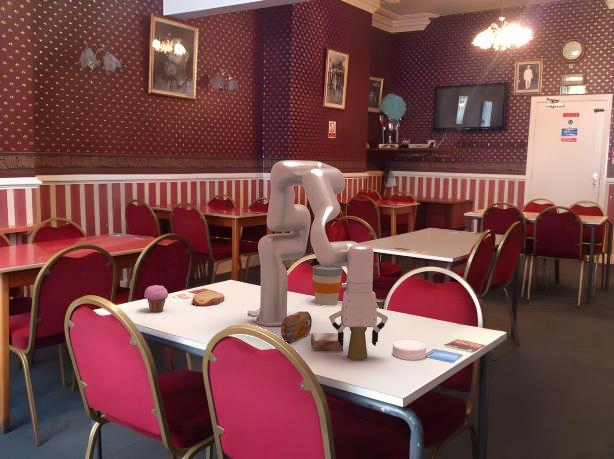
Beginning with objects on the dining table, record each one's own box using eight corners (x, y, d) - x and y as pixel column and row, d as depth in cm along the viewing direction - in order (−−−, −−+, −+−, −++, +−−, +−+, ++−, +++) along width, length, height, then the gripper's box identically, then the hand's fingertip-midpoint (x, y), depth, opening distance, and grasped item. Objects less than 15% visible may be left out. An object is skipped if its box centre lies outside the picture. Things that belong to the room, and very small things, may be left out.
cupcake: (168, 313, 220) (168, 287, 219) (144, 314, 218) (143, 287, 217) (168, 307, 228) (167, 282, 227) (144, 308, 226) (144, 283, 225)
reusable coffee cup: (306, 301, 245) (306, 265, 243) (332, 298, 250) (333, 263, 248) (319, 307, 233) (320, 270, 232) (347, 305, 239) (348, 268, 237)
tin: (287, 345, 184) (287, 318, 183) (278, 343, 186) (279, 317, 185) (312, 334, 197) (312, 309, 196) (304, 332, 198) (304, 308, 198)
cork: (345, 354, 176) (346, 318, 175) (365, 353, 177) (366, 318, 176) (348, 360, 170) (349, 323, 169) (369, 360, 171) (370, 323, 170)
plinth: (313, 351, 178) (313, 340, 178) (311, 342, 187) (311, 332, 187) (343, 351, 179) (343, 340, 179) (339, 342, 188) (339, 332, 187)
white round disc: (389, 350, 182) (389, 339, 181) (420, 350, 182) (421, 339, 182) (396, 361, 172) (396, 349, 171) (429, 361, 172) (430, 349, 172)
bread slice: (214, 294, 255) (214, 286, 255) (238, 302, 242) (238, 293, 241) (177, 300, 243) (177, 291, 243) (199, 308, 230) (199, 299, 229)
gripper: (331, 289, 167) (329, 348, 169) (391, 290, 168) (389, 348, 170) (328, 284, 175) (327, 340, 176) (386, 284, 176) (384, 340, 178)
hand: (357, 344), depth 173 cm, fingers open, 9 cm apart
